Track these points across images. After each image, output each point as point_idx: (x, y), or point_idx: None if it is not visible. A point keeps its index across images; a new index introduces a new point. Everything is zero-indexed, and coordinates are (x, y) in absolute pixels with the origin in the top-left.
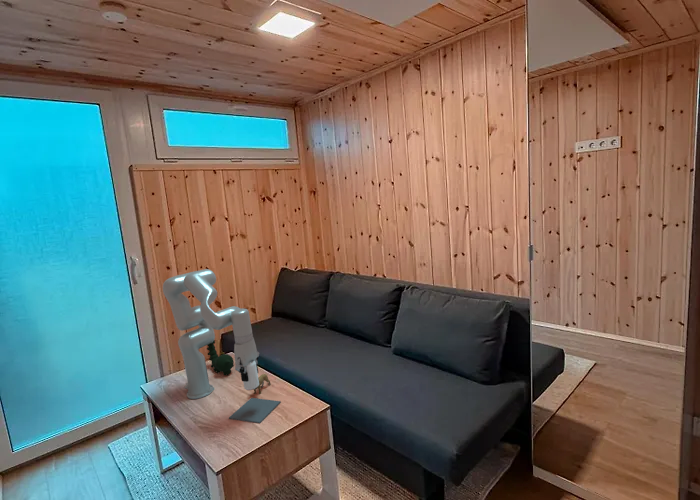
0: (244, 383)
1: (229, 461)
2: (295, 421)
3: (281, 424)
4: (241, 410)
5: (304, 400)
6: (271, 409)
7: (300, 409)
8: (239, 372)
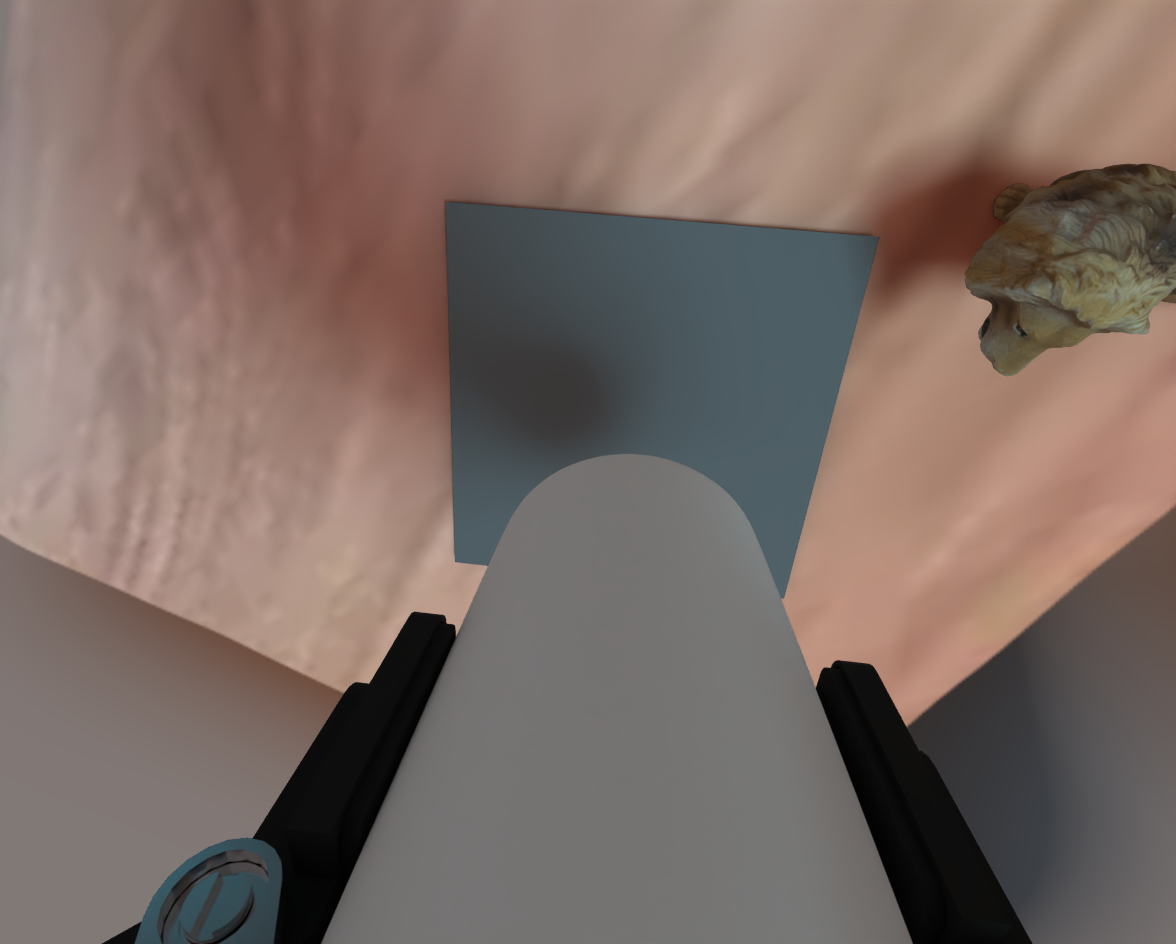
0: (479, 586)
1: (52, 550)
2: None
3: None
4: (594, 275)
5: None
6: None
7: None
8: (177, 880)
